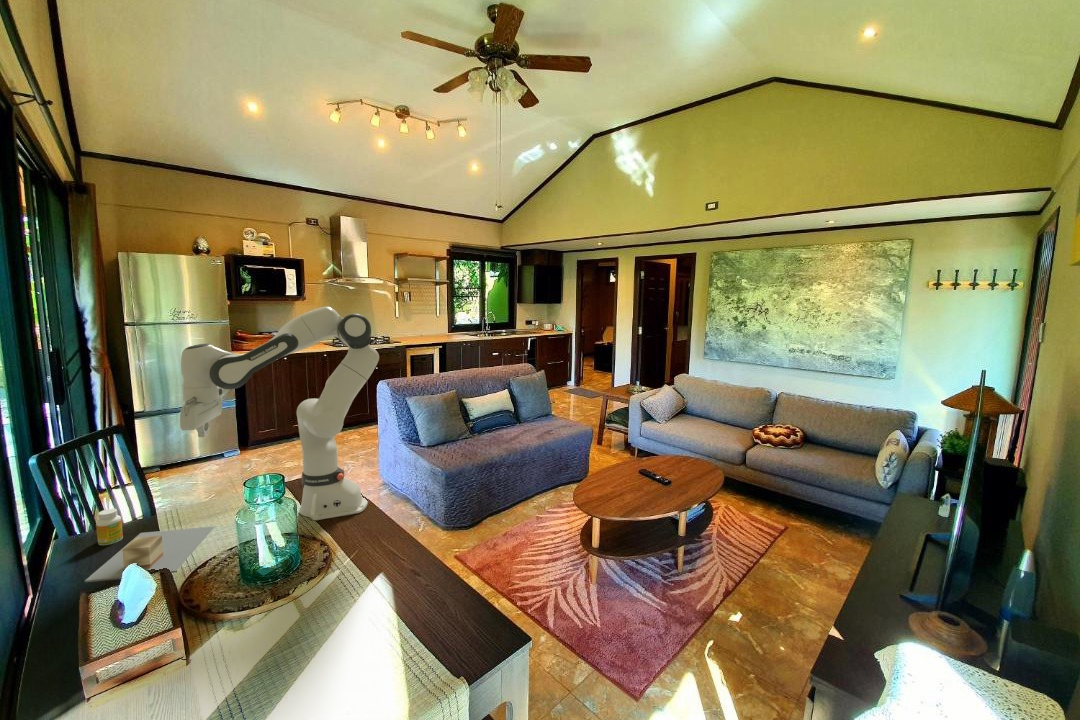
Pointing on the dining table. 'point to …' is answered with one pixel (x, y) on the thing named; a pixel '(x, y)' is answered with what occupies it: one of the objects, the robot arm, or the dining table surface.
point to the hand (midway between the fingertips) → (203, 435)
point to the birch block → (143, 551)
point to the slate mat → (174, 552)
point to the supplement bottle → (109, 527)
